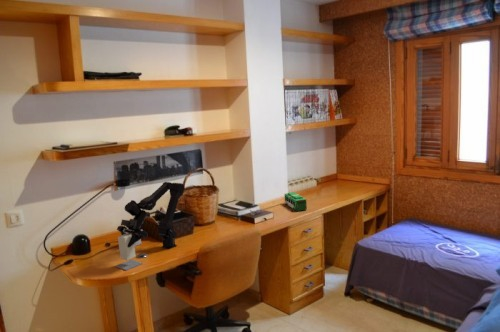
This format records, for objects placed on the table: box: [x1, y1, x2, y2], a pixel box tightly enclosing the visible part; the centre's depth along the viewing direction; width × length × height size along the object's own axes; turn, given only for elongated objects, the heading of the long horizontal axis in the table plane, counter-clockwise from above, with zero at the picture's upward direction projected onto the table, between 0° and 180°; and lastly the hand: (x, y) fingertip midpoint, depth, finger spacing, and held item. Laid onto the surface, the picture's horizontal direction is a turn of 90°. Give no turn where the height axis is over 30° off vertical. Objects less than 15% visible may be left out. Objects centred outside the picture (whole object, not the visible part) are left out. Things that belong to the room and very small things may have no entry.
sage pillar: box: [117, 234, 137, 261], centre depth 213 cm, size 6×6×12 cm
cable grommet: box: [136, 253, 148, 259], centre depth 227 cm, size 6×6×1 cm
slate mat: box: [114, 259, 143, 271], centre depth 215 cm, size 10×10×1 cm
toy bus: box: [284, 191, 308, 212], centre depth 308 cm, size 11×27×10 cm, turn 7°
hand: (124, 246), depth 212 cm, fingers closed on sage pillar, 5 cm apart
